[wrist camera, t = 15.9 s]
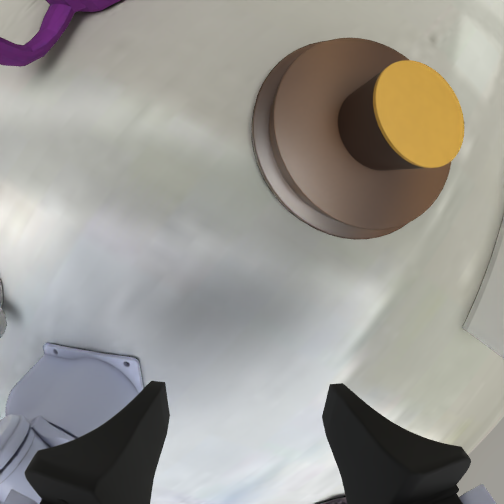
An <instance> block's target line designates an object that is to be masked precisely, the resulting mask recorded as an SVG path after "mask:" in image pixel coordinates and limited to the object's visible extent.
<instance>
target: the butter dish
mask: <svg viewBox="0 0 504 504" xmlns="http://www.w3.org/2000/svg"><path fill="white" fill-rule="evenodd" d="M462 328H463V329H464V330H466V331H467V332H469V333H470V334H471V335H473V336H474V337H475V338H477V339H478V340H480V341H481V342H482V343H484V344H485V345H486V346H488V347H489V348H490V349H492V350H493V351H494V352H496V353H497V354H498V355H500V356H501V357H502V358H503V359H504V216H503V220H502V223H501V227H500V231H499V234H498V237H497V241H496V244H495V247H494V250H493V253H492V256H491V259H490V262H489V265H488V268H487V271H486V273H485V276H484V279H483V281H482V284H481V286H480V289H479V291H478V294H477V296H476V299H475V301H474V303H473V306H472V308H471V310H470V312H469V315H468V317H467V319H466V321H465V323H464V325H463V327H462Z"/></svg>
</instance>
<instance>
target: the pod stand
mask: <svg viewBox="0 0 504 504" xmlns="http://www.w3.org/2000/svg"><path fill="white" fill-rule="evenodd" d="M404 60H409V59H408V58H406V57H405V56H404V55H402V54H400V53H399V52H397V51H395V50H394V49H392V48H390V47H387V46H385V45H383V44H380V43H377V42H374V41H370V40H365V39H359V38H339V39H334V40H329V41H322V42H318V43H313V44H309V45H307V46H304V47H302V48H299V49H297V50H296V51H294V52H292V53H291V54H289V55H287V56H286V57H285V58H284V59H282V60H281V61H280V62H279V63H278V64H277V65H276V66H275V67H274V68H273V69H272V70H271V72H270V73H269V74H268V76H267V78H266V79H265V81H264V82H263V84H262V86H261V89H260V91H259V93H258V95H257V99H256V103H255V106H254V111H253V118H252V142H253V148H254V154H255V157H256V160H257V164H258V167H259V169H260V171H261V173H262V176H263V178H264V180H265V181H266V183H267V185H268V186H269V188H270V190H271V191H272V193H273V194H274V195H275V196H276V198H277V199H278V200H279V201H280V203H281V204H282V205H283V206H285V207H286V208H287V209H288V210H289V211H290V212H291V213H292V214H293V215H295V216H296V217H297V218H299V219H300V220H301V221H303V222H305V223H307V224H308V225H310V226H312V227H313V228H315V229H317V230H320V231H322V232H324V233H327V234H329V235H333V236H337V237H341V238H348V239H370V238H376V237H381V236H384V235H387V234H390V233H392V232H394V231H396V230H398V229H400V228H402V227H403V226H405V225H406V224H407V223H409V222H410V221H412V220H414V219H416V218H417V217H419V216H420V215H421V214H423V213H424V212H425V211H426V210H427V209H428V208H429V207H430V206H431V205H432V204H433V203H434V201H435V200H436V199H437V197H438V196H439V194H440V192H441V191H442V189H443V187H444V185H445V182H446V180H447V177H448V174H449V170H450V165H451V161H450V162H449V163H448V164H446V165H444V166H441V167H437V168H421V169H401V170H385V171H380V170H374V169H371V168H368V167H366V166H364V165H362V164H361V163H359V162H358V161H357V160H356V159H354V157H353V156H352V155H351V154H350V153H349V152H348V150H347V149H346V147H345V146H344V144H343V141H342V139H341V136H340V132H339V127H338V117H339V111H340V108H341V106H342V104H343V102H344V101H345V99H346V98H347V97H348V96H349V95H350V94H352V93H353V92H354V91H356V90H357V89H358V88H360V87H361V86H362V85H364V84H365V83H366V82H368V81H369V80H370V79H372V78H373V77H374V76H376V75H377V74H378V73H380V72H381V71H383V70H384V69H385V68H387V67H388V66H390V65H391V64H393V63H395V62H398V61H404Z"/></svg>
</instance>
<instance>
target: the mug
mask: <svg viewBox="0 0 504 504" xmlns="http://www.w3.org/2000/svg"><path fill="white" fill-rule="evenodd" d="M46 1H47V2H48V3H49V4H51V5H50V7H49V9H48V10H47V12H46V14H45V16H44V19H43V21H42V24H41V27H40V30H39V32H38V33H37V34H36V35H35V36H34V37H33V38H32V39H31V40H30V41H29V42H28V43H26V44H25V45H17V44H14V43H12V42H10V41H8V40H5V39H3V38H1V37H0V64H1V65H8V66H25V65H27V64H29V63H31V62H33V61H35V60H37V59H39V58H41V57H43V56H45V54H46V53H47V52H48V51H49V50H50V49H51V48H52V47H53V45H54V44H55V43H56V42H57V41H58V39H59V38H60V37H61V35H62V34H63V32H64V31H65V29H66V28H67V27H68V25H69V23H70V21H71V19H72V17H73V15H74V13H75V12H77V11H84V12H96V11H101V10H103V9H105V8H107V7H109V6H111V5H112V4H114V3H116V2H118V1H120V0H46Z"/></svg>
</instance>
